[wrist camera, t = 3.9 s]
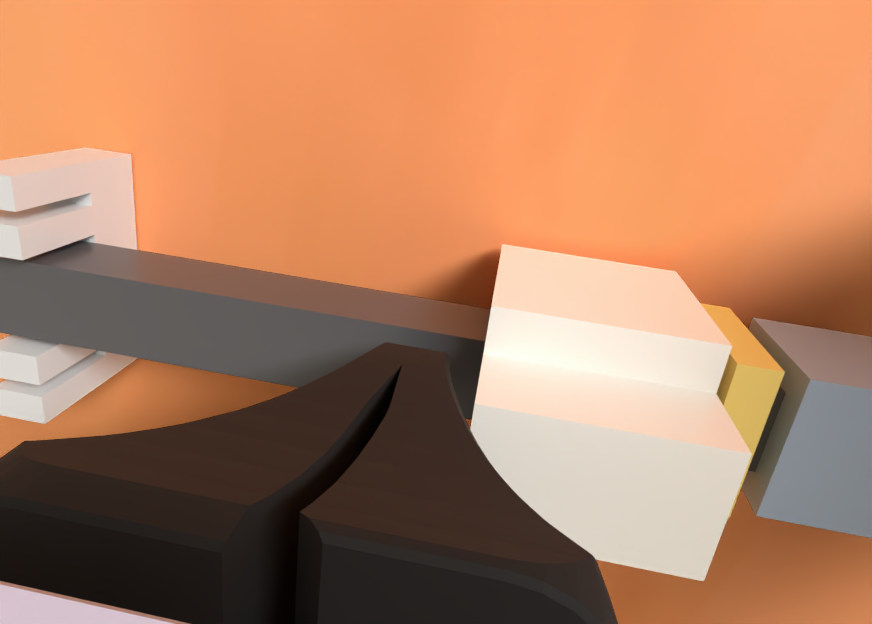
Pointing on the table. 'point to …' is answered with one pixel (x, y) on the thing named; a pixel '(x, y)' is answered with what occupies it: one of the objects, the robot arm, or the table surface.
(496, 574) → the robot arm
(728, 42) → the table surface
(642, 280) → the sleeve
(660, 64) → the table surface
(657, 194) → the table surface
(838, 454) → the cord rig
